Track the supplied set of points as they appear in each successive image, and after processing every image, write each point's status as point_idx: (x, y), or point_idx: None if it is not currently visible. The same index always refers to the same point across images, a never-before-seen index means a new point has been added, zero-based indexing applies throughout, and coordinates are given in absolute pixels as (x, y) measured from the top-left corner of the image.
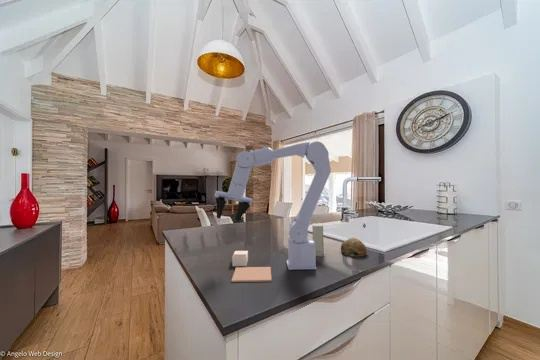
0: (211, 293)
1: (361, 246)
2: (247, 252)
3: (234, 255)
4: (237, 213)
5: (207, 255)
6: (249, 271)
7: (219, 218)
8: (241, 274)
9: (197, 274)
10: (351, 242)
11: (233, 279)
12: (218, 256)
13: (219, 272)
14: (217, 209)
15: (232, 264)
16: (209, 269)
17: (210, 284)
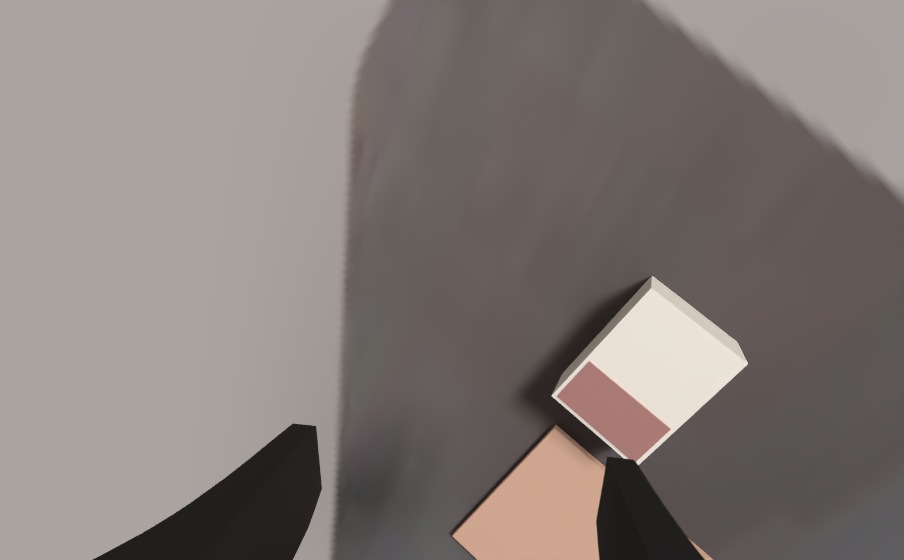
0: (353, 539)
1: None
2: (711, 397)
3: (579, 383)
4: (631, 550)
5: (523, 46)
6: (584, 532)
7: (315, 487)
8: (525, 525)
9: (363, 334)
10: None
11: (464, 535)
12: (582, 127)
13: (459, 394)
14: (221, 499)
15: (560, 377)
16: (433, 317)
17: (375, 474)
